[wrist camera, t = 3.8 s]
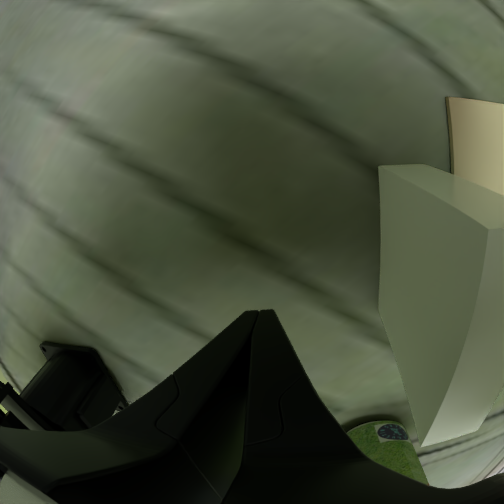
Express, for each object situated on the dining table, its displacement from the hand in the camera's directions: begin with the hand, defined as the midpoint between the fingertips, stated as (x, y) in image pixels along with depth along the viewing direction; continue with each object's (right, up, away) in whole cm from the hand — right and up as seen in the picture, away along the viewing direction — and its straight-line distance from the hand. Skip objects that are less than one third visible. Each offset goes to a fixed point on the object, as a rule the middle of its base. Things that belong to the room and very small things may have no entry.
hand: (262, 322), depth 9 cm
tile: (+7, +3, +4) cm, 8 cm away
